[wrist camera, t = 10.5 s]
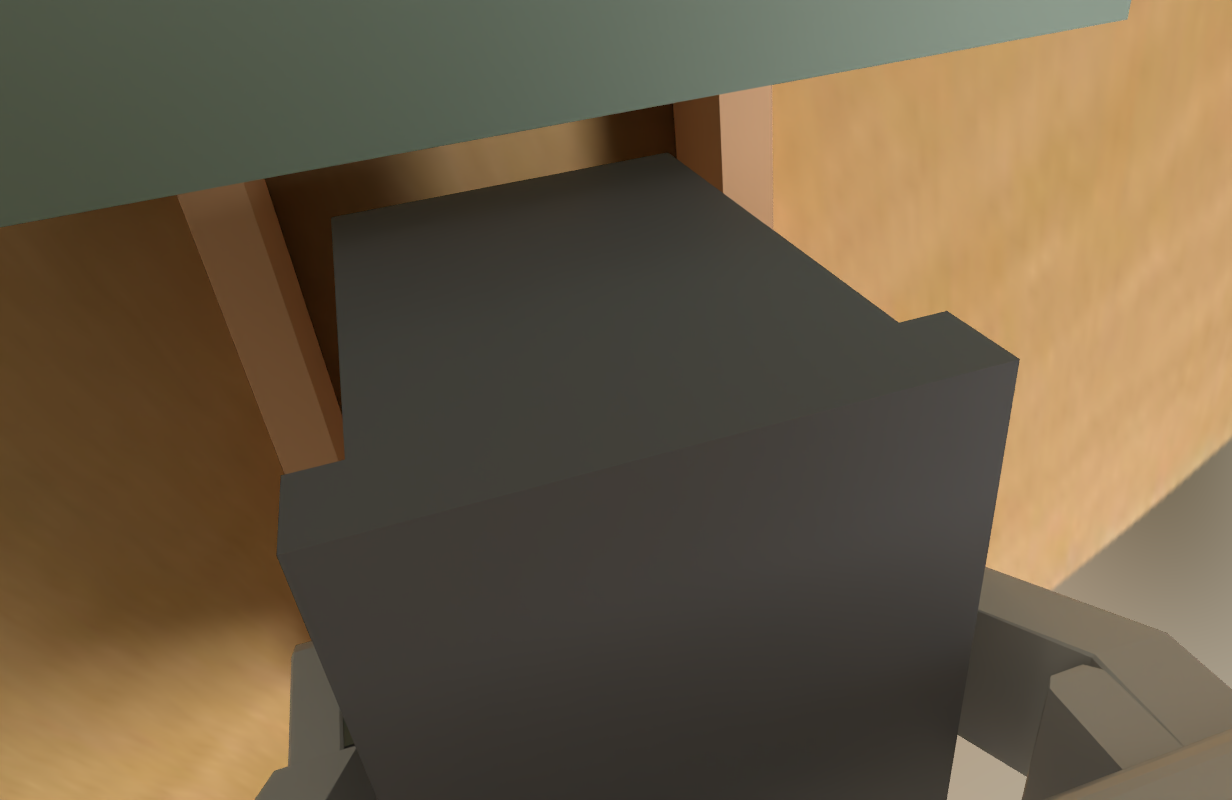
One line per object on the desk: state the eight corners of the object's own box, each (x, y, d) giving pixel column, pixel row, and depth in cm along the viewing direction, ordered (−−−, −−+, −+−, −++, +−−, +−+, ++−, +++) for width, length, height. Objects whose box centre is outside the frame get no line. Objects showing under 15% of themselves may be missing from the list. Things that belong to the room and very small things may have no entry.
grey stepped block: (699, 146, 11) (1019, 359, 6) (725, 655, 15) (913, 1003, 11) (293, 223, 10) (277, 556, 5) (456, 740, 14) (528, 1164, 10)
